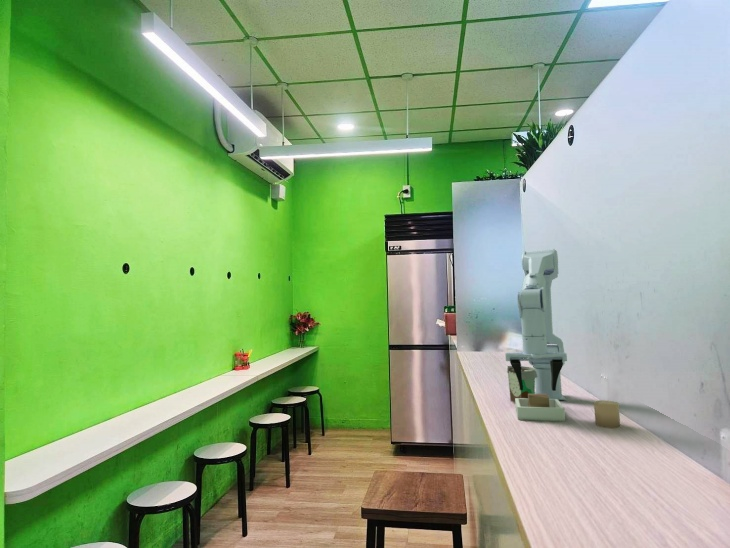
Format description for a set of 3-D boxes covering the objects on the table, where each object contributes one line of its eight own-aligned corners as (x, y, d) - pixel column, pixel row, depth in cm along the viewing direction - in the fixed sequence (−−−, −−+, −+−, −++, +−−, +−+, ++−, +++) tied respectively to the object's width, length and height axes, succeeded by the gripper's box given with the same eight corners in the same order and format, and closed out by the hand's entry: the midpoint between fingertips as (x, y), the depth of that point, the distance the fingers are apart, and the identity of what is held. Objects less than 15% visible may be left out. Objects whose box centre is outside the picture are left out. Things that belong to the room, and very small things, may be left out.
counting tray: (515, 409, 117) (514, 398, 117) (558, 410, 114) (557, 399, 114) (518, 419, 106) (517, 407, 107) (565, 421, 104) (564, 408, 104)
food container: (546, 409, 116) (543, 371, 117) (523, 410, 116) (520, 371, 117) (529, 399, 128) (527, 365, 129) (508, 400, 128) (506, 365, 129)
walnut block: (528, 411, 113) (527, 393, 113) (547, 411, 112) (546, 393, 112) (530, 415, 108) (529, 397, 109) (550, 416, 107) (548, 397, 108)
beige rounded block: (593, 421, 103) (591, 400, 103) (617, 422, 101) (615, 400, 102) (598, 427, 98) (596, 404, 98) (623, 428, 96) (621, 405, 97)
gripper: (504, 337, 110) (508, 392, 109) (567, 336, 106) (571, 393, 105) (504, 335, 117) (507, 386, 116) (562, 334, 113) (566, 387, 112)
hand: (537, 389), depth 111 cm, fingers open, 7 cm apart
